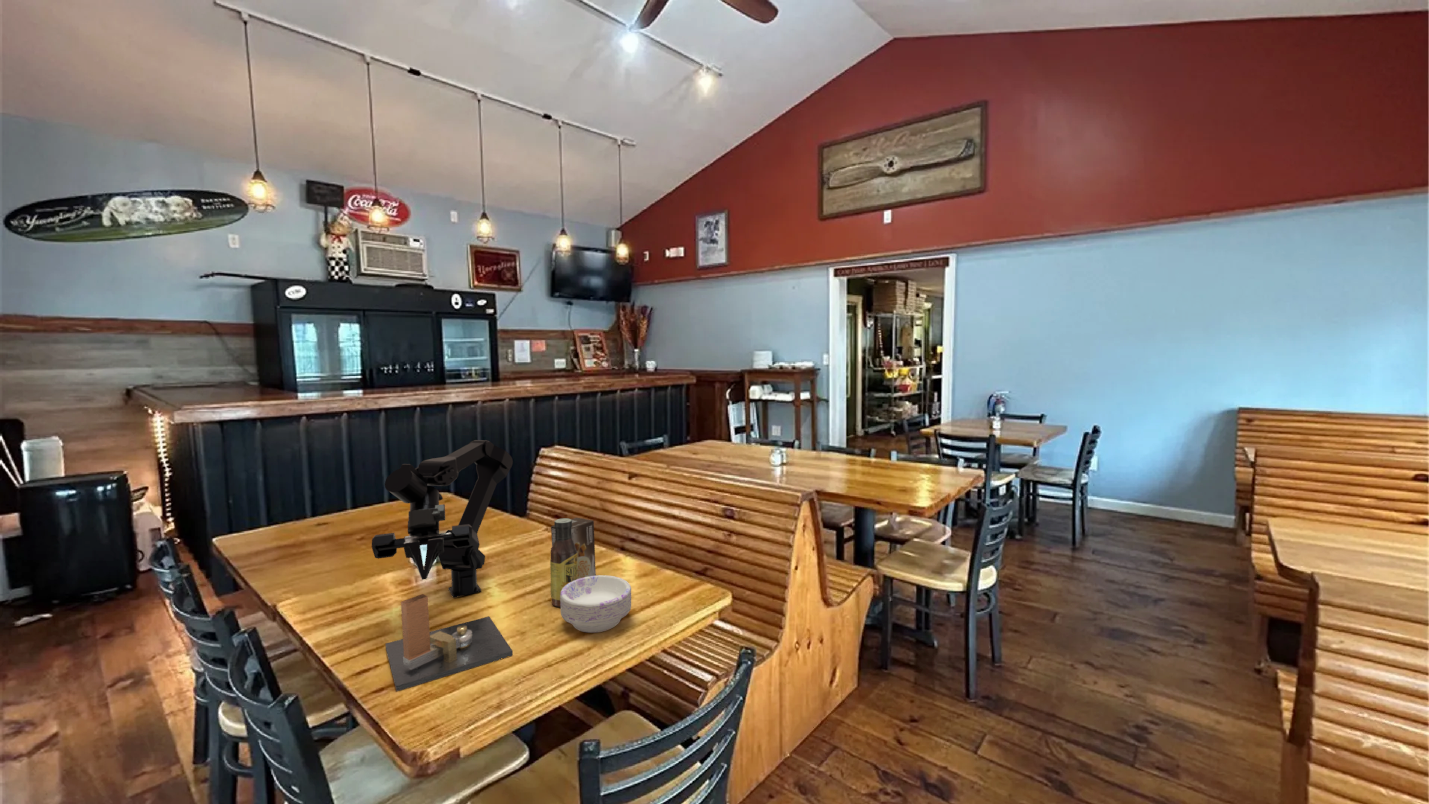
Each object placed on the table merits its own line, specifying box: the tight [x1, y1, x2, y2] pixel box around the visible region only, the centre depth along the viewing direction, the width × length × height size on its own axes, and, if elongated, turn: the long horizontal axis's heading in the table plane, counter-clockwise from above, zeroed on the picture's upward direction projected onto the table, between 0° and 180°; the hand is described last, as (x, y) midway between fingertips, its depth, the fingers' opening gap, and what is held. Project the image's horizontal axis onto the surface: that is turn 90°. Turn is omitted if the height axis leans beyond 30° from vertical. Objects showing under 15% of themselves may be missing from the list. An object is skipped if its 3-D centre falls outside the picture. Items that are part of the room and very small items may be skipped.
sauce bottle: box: [549, 517, 578, 608], centre depth 133 cm, size 7×6×20 cm
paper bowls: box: [560, 574, 632, 634], centre depth 124 cm, size 15×15×8 cm
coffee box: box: [550, 517, 597, 579], centre depth 144 cm, size 9×6×16 cm
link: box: [400, 593, 472, 670], centre depth 108 cm, size 13×4×12 cm, turn 146°
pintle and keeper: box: [430, 625, 470, 663], centre depth 110 cm, size 7×8×5 cm
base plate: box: [385, 616, 514, 692], centre depth 112 cm, size 18×20×1 cm
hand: (424, 578), depth 115 cm, fingers closed
